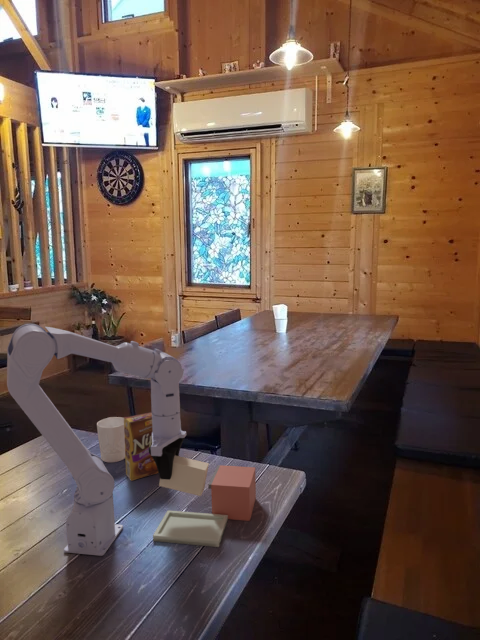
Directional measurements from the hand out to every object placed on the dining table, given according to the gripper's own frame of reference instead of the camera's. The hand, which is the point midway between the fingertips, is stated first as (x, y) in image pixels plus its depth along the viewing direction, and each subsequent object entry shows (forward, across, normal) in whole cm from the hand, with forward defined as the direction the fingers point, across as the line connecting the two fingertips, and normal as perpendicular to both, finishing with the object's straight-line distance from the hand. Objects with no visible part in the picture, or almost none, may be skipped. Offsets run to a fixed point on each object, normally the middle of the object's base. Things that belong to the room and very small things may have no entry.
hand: (168, 474), depth 101 cm
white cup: (+10, +26, +23) cm, 36 cm away
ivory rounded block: (+3, 0, -3) cm, 4 cm away
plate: (+9, -5, -6) cm, 12 cm away
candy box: (+10, +18, +12) cm, 23 cm away
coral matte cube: (+9, +5, -13) cm, 17 cm away
